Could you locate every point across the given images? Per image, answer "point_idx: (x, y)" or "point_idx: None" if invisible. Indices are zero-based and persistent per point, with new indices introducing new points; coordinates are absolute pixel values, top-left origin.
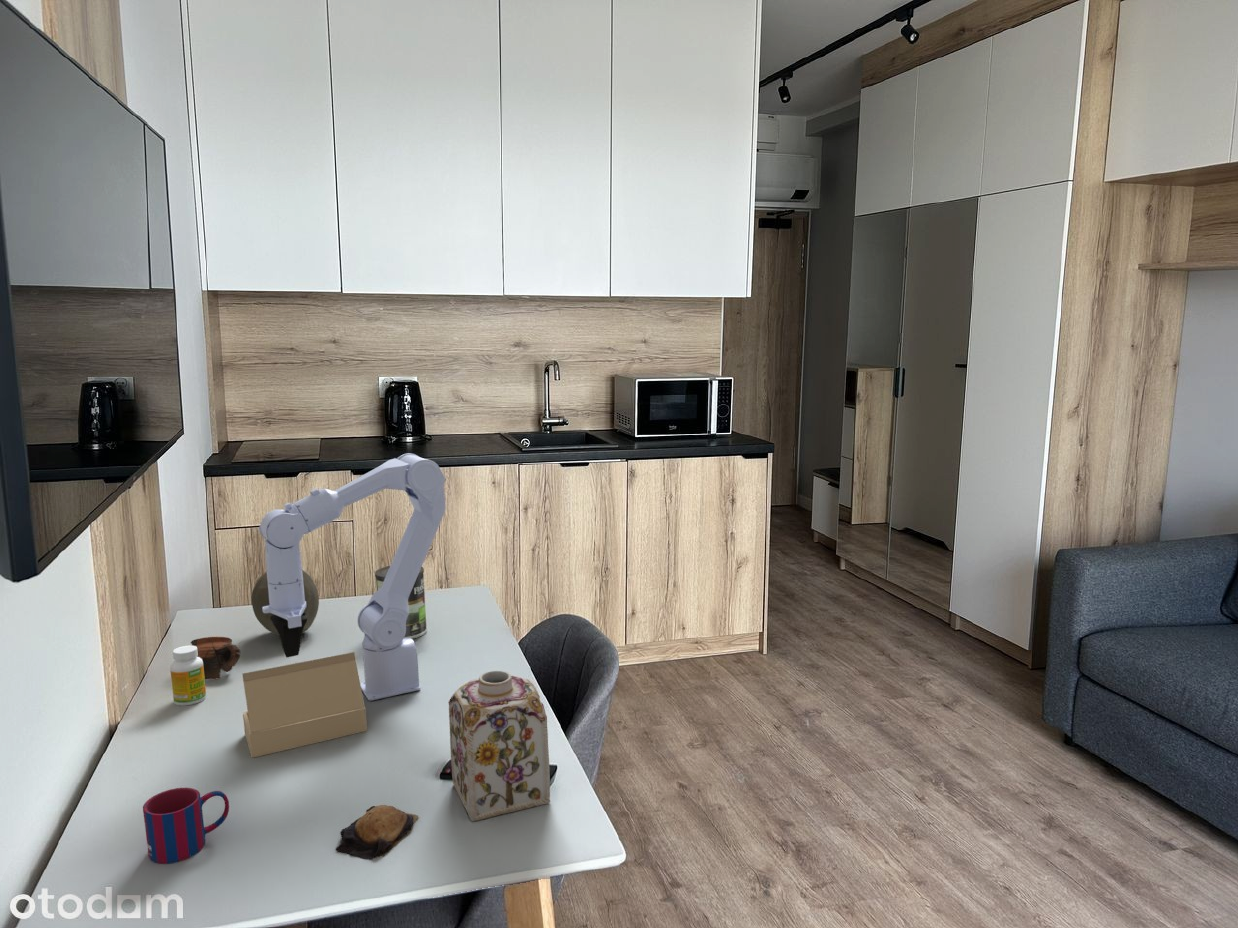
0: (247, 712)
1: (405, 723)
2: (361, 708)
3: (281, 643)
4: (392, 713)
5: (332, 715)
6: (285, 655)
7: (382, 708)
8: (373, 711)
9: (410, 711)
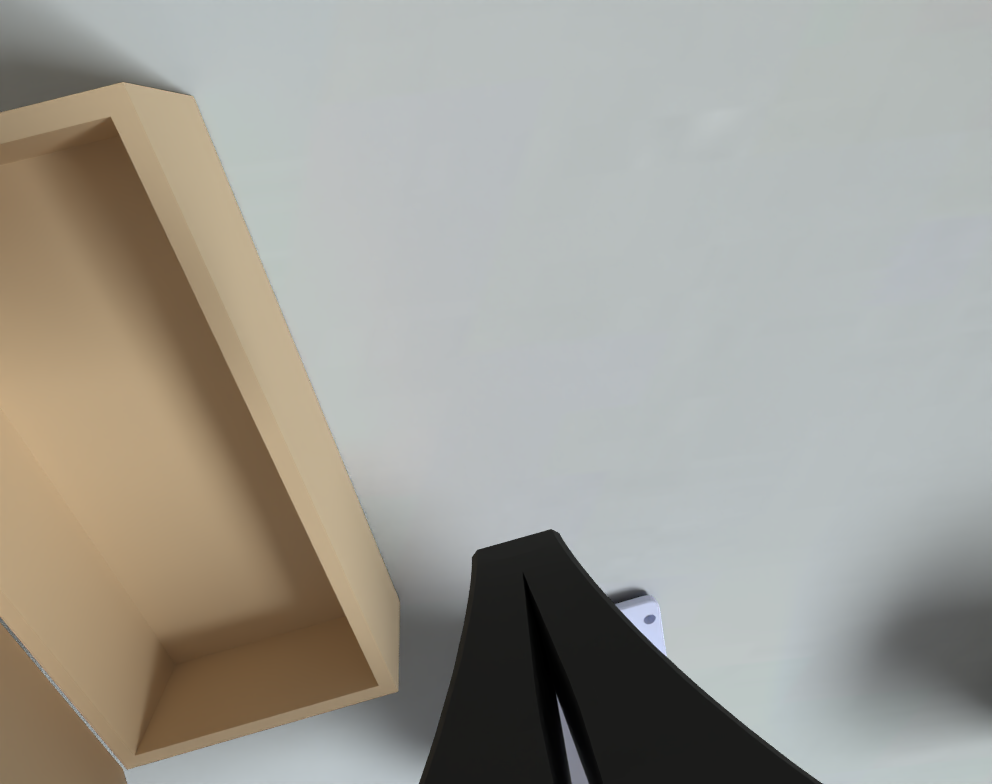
0: (117, 125)
1: (226, 767)
2: (115, 760)
3: (552, 633)
4: (331, 722)
5: (33, 656)
6: (478, 558)
7: None
8: None
9: (335, 768)
